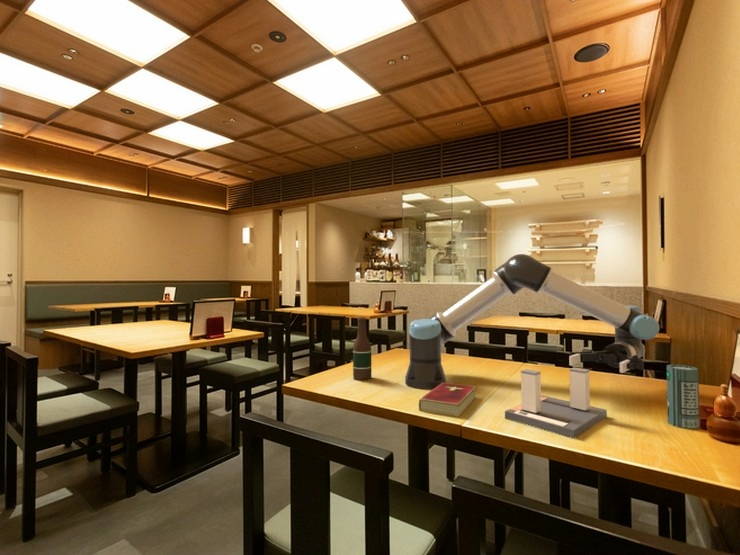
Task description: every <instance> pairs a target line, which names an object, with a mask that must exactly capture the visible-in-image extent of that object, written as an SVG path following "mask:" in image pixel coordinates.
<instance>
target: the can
mask: <svg viewBox="0 0 740 555" xmlns="http://www.w3.org/2000/svg"><path fill="white" fill-rule="evenodd" d="M699 378H700V377H699V368H697V367H694V366H689V365H683V364H667V365H666V394H667V395H666V398H667V399H666V401H667V403H666V404H667V412H666V413H667V424H669V425H671V426H673V427H677V428H680V429H685V430H699V429H700V428H701V427H700V388H699V386H700V385H699V384H700V383H699V382H700V381H699Z"/></svg>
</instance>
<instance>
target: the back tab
mask: <svg viewBox="0 0 740 555" xmlns="http://www.w3.org/2000/svg"><path fill="white" fill-rule="evenodd" d="M590 385H591V384H590V369H586V368H581V367H580V368H579V367H572V368H569V401H570V407H573V408H577V409H581V410H587V409H589V408H590V406H591V401H590V400H591V399H590V397H591V396H590V394H591V392H590V389H591V388H590V387H591V386H590Z"/></svg>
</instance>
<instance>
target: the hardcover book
mask: <svg viewBox="0 0 740 555" xmlns="http://www.w3.org/2000/svg"><path fill="white" fill-rule="evenodd" d="M476 389H477V386H475V385H466V384H459V383H458V384H457V383H452V382H446V383H444V382H443V383H441V384H440V385H438V386H437V387H436V388H433V389H432V390H429V391H428V392H427V393H426V394H425V395H424V396H423V397H420V398H419V401H418V411H419V412H421V411H422V412H426V413H427V412H428V413H433V414H439V413H440V414H441V415H445V414H447V415H446V416H451V415H453V416H452V417H457V416H458V417H459V416H460V415H461V414H462V413H463V412H464V411H465V410H464V409H466V408H468V406H469V405H470V404H471V403H472V402H473V401H474V400H473V399H476ZM472 400H473V401H472ZM471 401H472V402H471ZM463 410H464V411H463ZM462 411H463V412H462ZM461 412H462V413H461ZM460 413H461V414H460ZM440 414H439V415H440Z"/></svg>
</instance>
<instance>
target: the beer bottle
mask: <svg viewBox="0 0 740 555" xmlns="http://www.w3.org/2000/svg"><path fill="white" fill-rule="evenodd" d="M366 321H367V318H366V317H363V316H362V317H361V316H359V317H357V334H356V338H355V340H354V342H353V345H352V346H353V348H352V375H353V377H352V378H353V380H355V379H356V380H355V381H368V380H371V379H372V347H371V346H372V345H371V342H370V340H369V338H368V337H367V336H368V334H367V323H366Z"/></svg>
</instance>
